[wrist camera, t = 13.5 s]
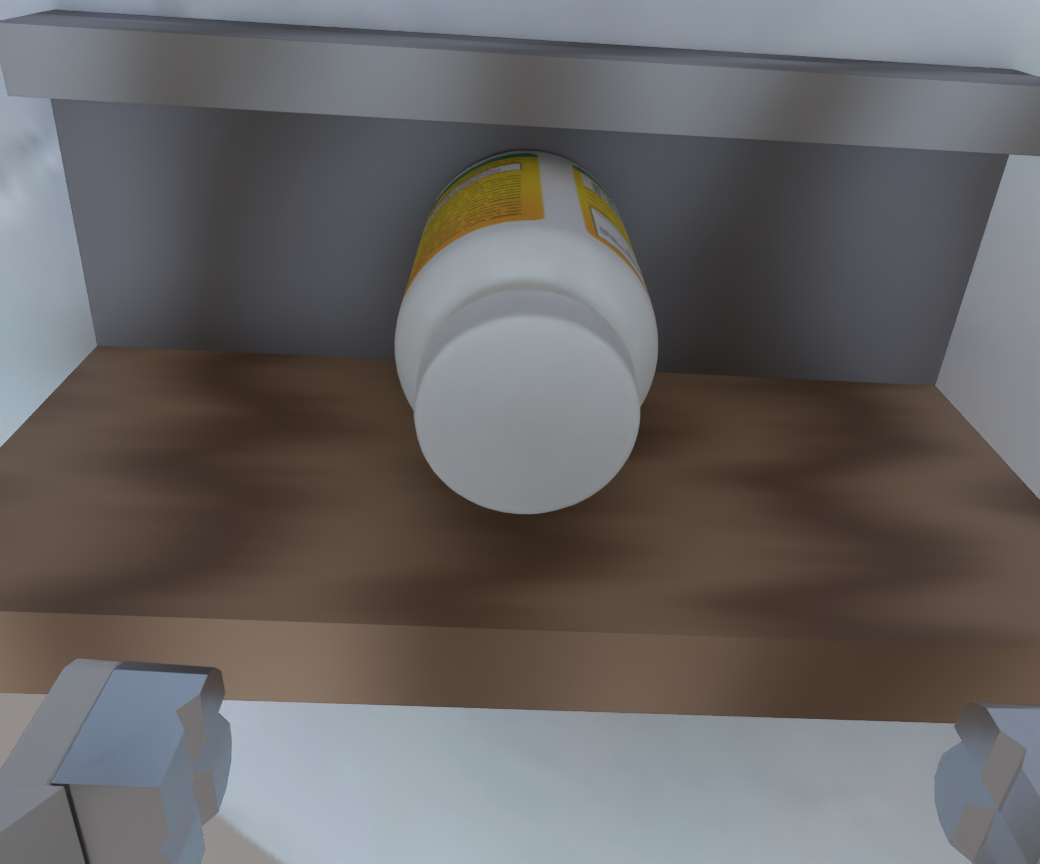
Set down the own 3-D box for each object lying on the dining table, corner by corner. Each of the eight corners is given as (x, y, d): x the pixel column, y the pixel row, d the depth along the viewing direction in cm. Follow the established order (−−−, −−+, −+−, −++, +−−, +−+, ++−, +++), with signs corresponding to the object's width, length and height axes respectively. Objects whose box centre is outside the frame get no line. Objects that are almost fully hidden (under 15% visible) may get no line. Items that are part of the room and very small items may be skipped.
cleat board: (1014, 69, 23) (1437, 196, 12) (903, 428, 28) (1136, 728, 18) (53, 9, 22) (-357, 92, 12) (122, 392, 27) (-118, 688, 17)
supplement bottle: (653, 181, 23) (735, 329, 15) (584, 362, 26) (621, 574, 17) (451, 117, 22) (418, 236, 14) (400, 310, 25) (346, 508, 17)
